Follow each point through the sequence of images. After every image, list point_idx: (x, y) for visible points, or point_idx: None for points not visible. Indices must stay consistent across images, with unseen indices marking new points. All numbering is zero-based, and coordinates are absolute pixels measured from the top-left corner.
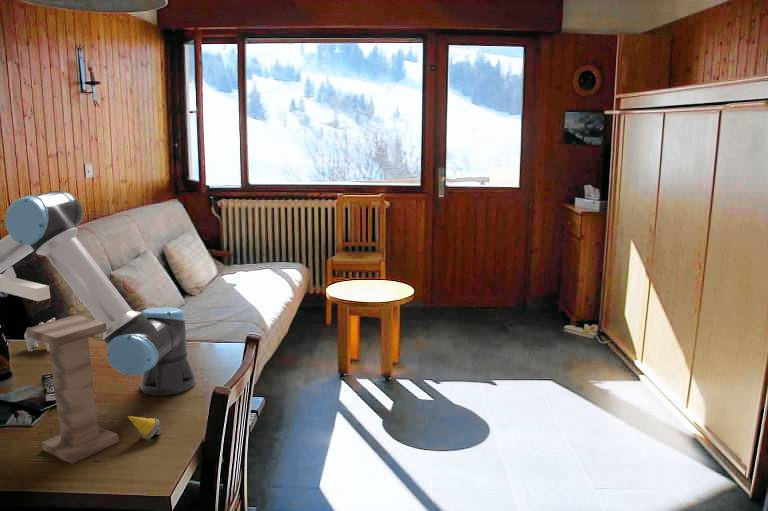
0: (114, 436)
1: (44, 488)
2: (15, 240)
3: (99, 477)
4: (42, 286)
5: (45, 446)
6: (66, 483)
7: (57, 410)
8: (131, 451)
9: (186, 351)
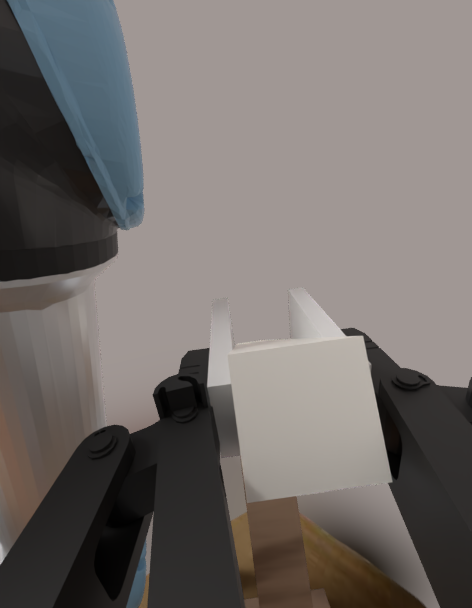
0: (247, 600)
1: (374, 570)
2: (139, 172)
3: (308, 549)
4: (247, 342)
5: None
6: (345, 563)
7: (309, 587)
8: (249, 576)
9: None
